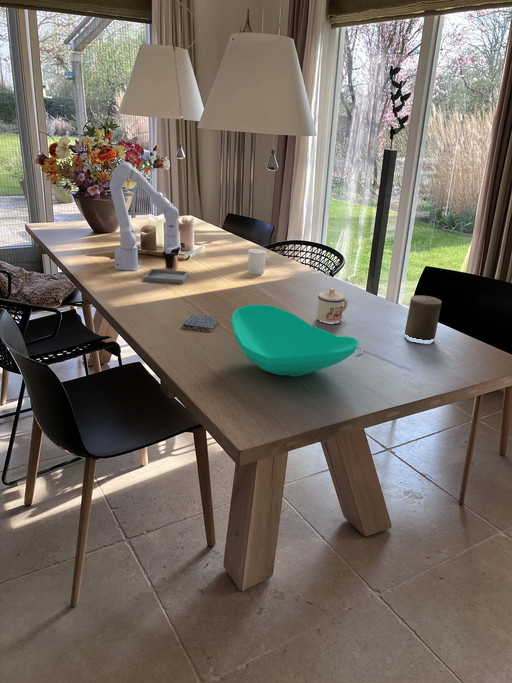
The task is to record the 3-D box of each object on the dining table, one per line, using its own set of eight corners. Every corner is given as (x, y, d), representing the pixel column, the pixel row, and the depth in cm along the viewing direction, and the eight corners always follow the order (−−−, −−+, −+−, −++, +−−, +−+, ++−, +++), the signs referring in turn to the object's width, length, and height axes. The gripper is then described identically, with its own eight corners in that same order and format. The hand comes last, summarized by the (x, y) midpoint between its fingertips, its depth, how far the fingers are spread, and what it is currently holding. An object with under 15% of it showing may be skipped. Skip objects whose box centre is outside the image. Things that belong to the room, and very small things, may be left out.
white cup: (265, 271, 251) (267, 249, 247) (264, 276, 244) (265, 253, 240) (248, 270, 252) (249, 248, 248) (246, 274, 244) (247, 252, 241)
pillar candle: (429, 347, 177) (438, 302, 171) (399, 339, 181) (407, 295, 176) (437, 338, 184) (446, 295, 179) (409, 331, 189) (416, 289, 183)
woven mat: (220, 323, 188) (220, 317, 187) (211, 334, 178) (211, 328, 177) (190, 319, 190) (190, 313, 189) (180, 329, 180) (180, 324, 179)
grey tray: (143, 281, 226) (143, 276, 226) (151, 272, 238) (151, 268, 238) (182, 284, 226) (182, 279, 225) (188, 275, 238) (188, 271, 237)
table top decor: (205, 357, 159) (206, 314, 154) (275, 337, 177) (278, 297, 172) (306, 413, 133) (311, 363, 128) (376, 383, 150) (383, 338, 145)
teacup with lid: (326, 326, 189) (330, 294, 184) (310, 318, 196) (313, 286, 191) (353, 321, 195) (357, 290, 190) (336, 313, 202) (340, 282, 198)
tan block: (165, 270, 243) (165, 257, 241) (167, 268, 247) (167, 254, 245) (175, 271, 243) (175, 258, 241) (177, 268, 247) (177, 255, 245)
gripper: (177, 239, 232) (177, 270, 237) (184, 232, 246) (183, 262, 251) (160, 238, 233) (160, 269, 238) (168, 231, 246) (168, 261, 251)
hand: (171, 266), depth 244 cm, fingers open, 7 cm apart
